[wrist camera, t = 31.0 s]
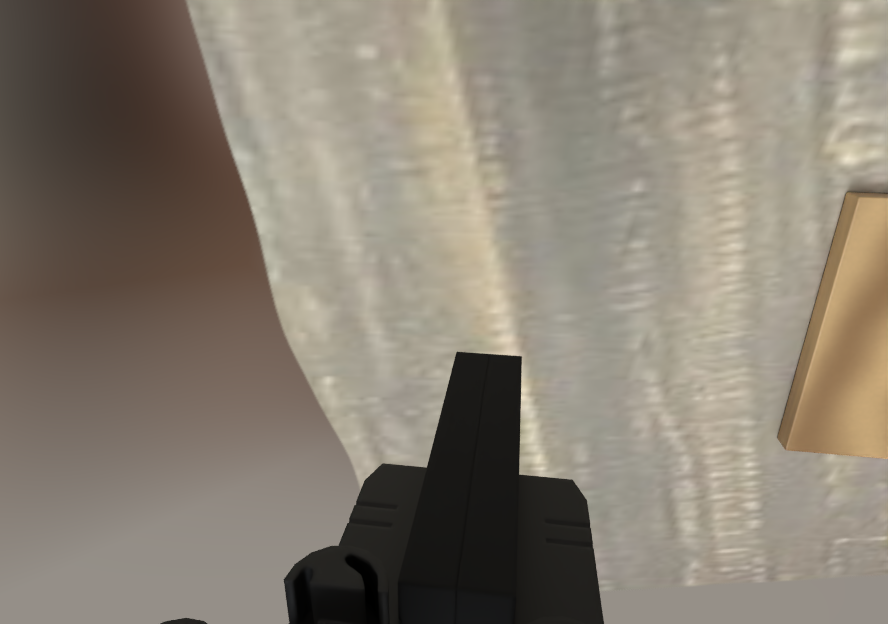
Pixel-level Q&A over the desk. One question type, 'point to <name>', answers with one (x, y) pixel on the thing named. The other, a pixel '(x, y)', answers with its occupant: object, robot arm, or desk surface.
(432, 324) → the desk surface
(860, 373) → the board
